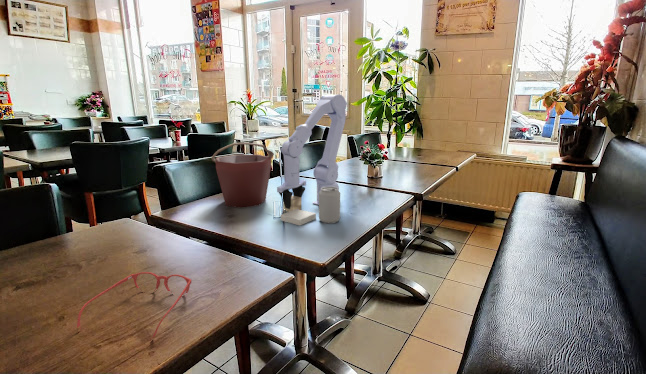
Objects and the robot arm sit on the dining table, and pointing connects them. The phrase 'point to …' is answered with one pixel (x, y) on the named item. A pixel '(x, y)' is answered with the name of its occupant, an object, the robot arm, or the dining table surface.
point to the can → (329, 205)
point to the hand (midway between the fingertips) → (292, 206)
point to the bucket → (243, 177)
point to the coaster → (298, 217)
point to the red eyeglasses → (138, 287)
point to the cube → (294, 204)
